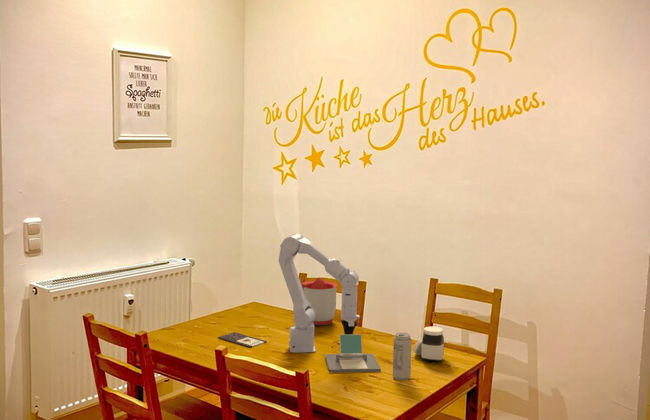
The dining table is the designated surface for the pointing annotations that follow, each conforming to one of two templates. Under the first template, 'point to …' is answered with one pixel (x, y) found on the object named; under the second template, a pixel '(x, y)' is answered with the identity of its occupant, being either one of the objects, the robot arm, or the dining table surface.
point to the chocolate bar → (242, 340)
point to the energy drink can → (402, 356)
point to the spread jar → (431, 345)
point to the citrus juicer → (321, 299)
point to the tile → (351, 344)
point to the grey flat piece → (352, 363)
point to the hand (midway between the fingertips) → (348, 339)
